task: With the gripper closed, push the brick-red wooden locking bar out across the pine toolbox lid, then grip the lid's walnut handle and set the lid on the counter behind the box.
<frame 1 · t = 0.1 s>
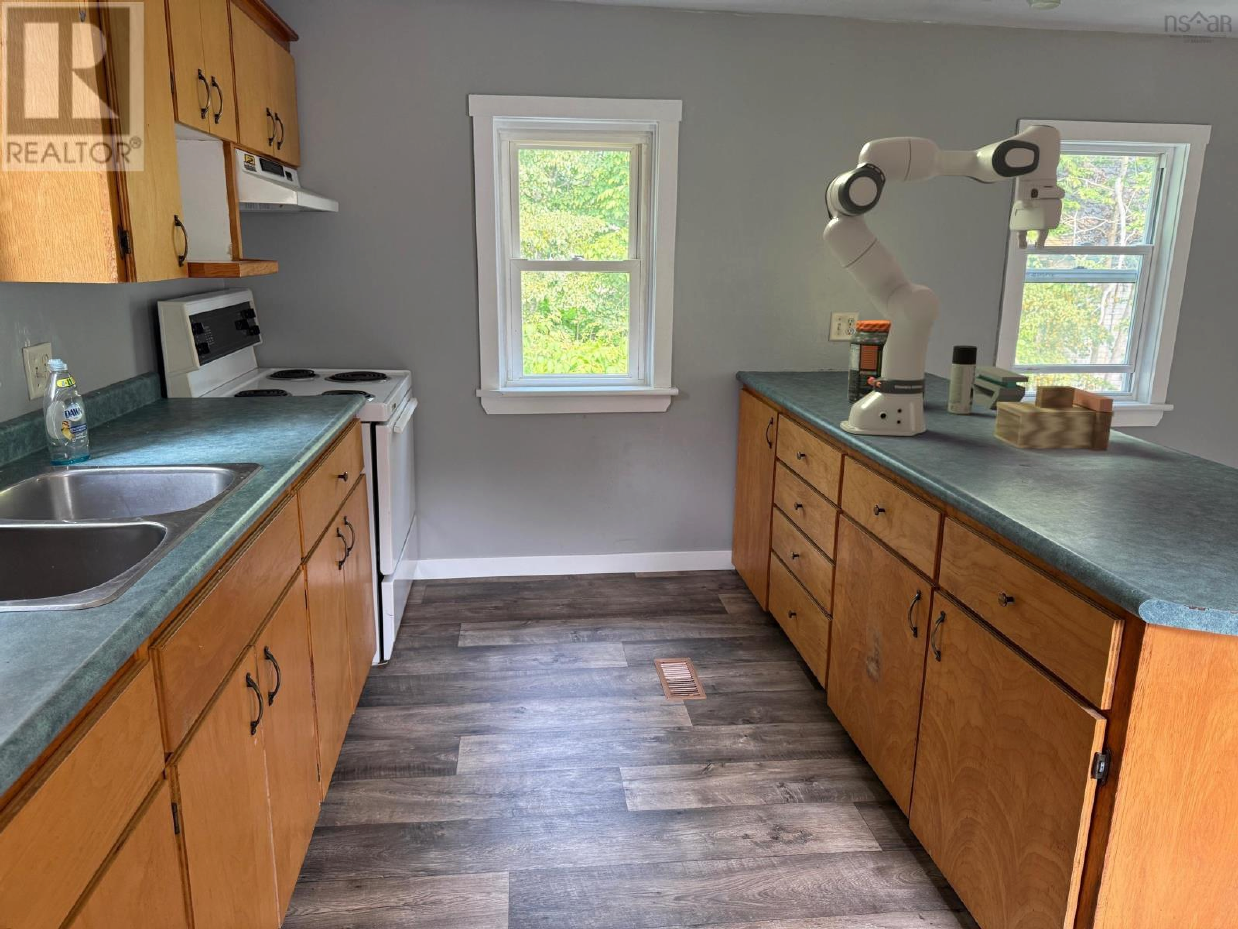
hand: (1030, 248, 220), 48 cm above the worktop, fingers open, 8 cm apart
supplement tub: (871, 402, 274), on the worktop
spray can: (959, 413, 255), on the worktop
toolbox lid: (1052, 411, 214), point 8 cm above the worktop, touching toolbox
toolbox: (1049, 442, 216), on the worktop
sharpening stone: (994, 406, 267), on the worktop
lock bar: (1086, 399, 213), point 11 cm above the worktop, slide at 0.0 cm
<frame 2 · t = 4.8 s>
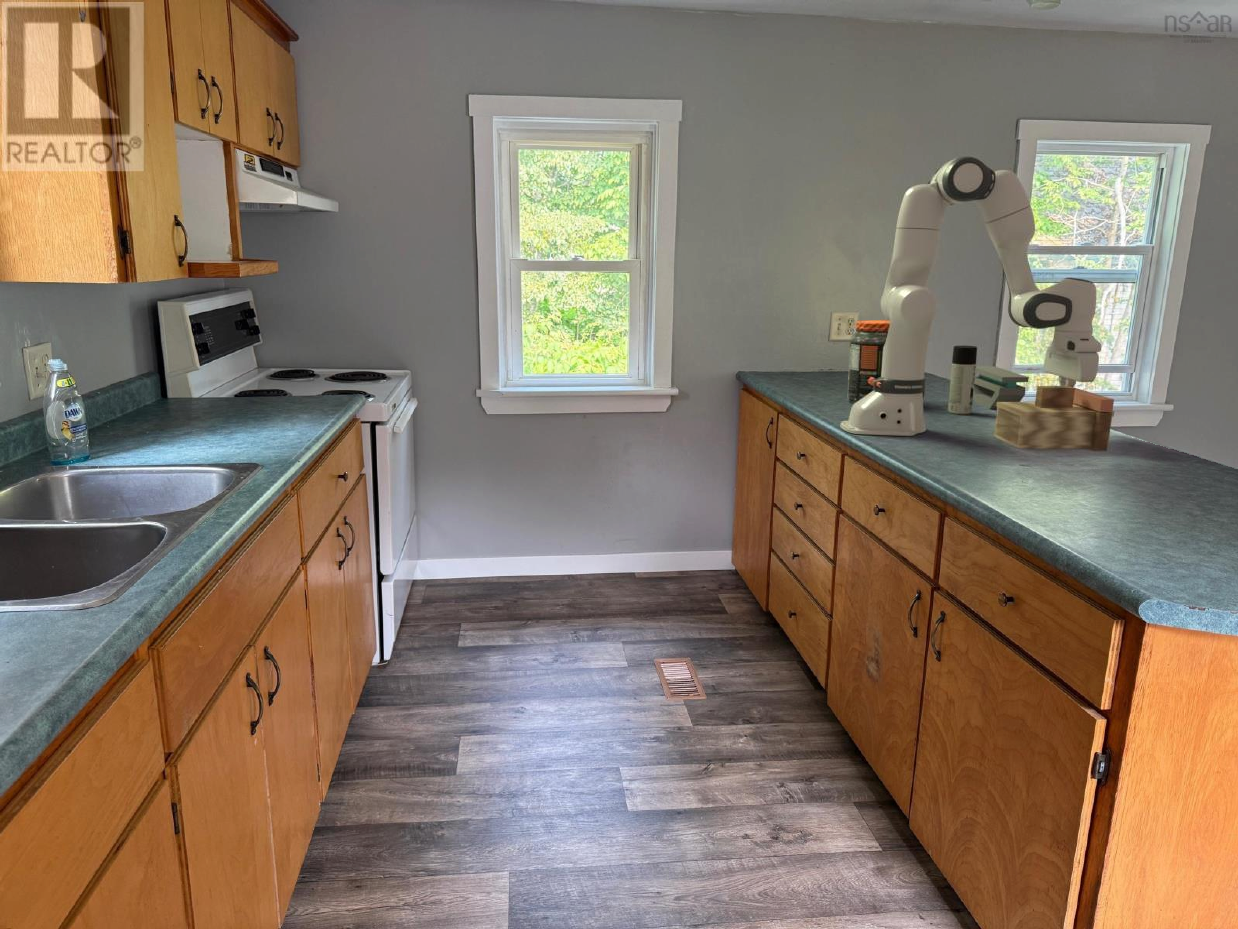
hand: (1065, 394, 223), 11 cm above the worktop, fingers closed
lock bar: (1087, 399, 213), point 11 cm above the worktop, slide at 0.4 cm, touching gripper
everything else where it was.
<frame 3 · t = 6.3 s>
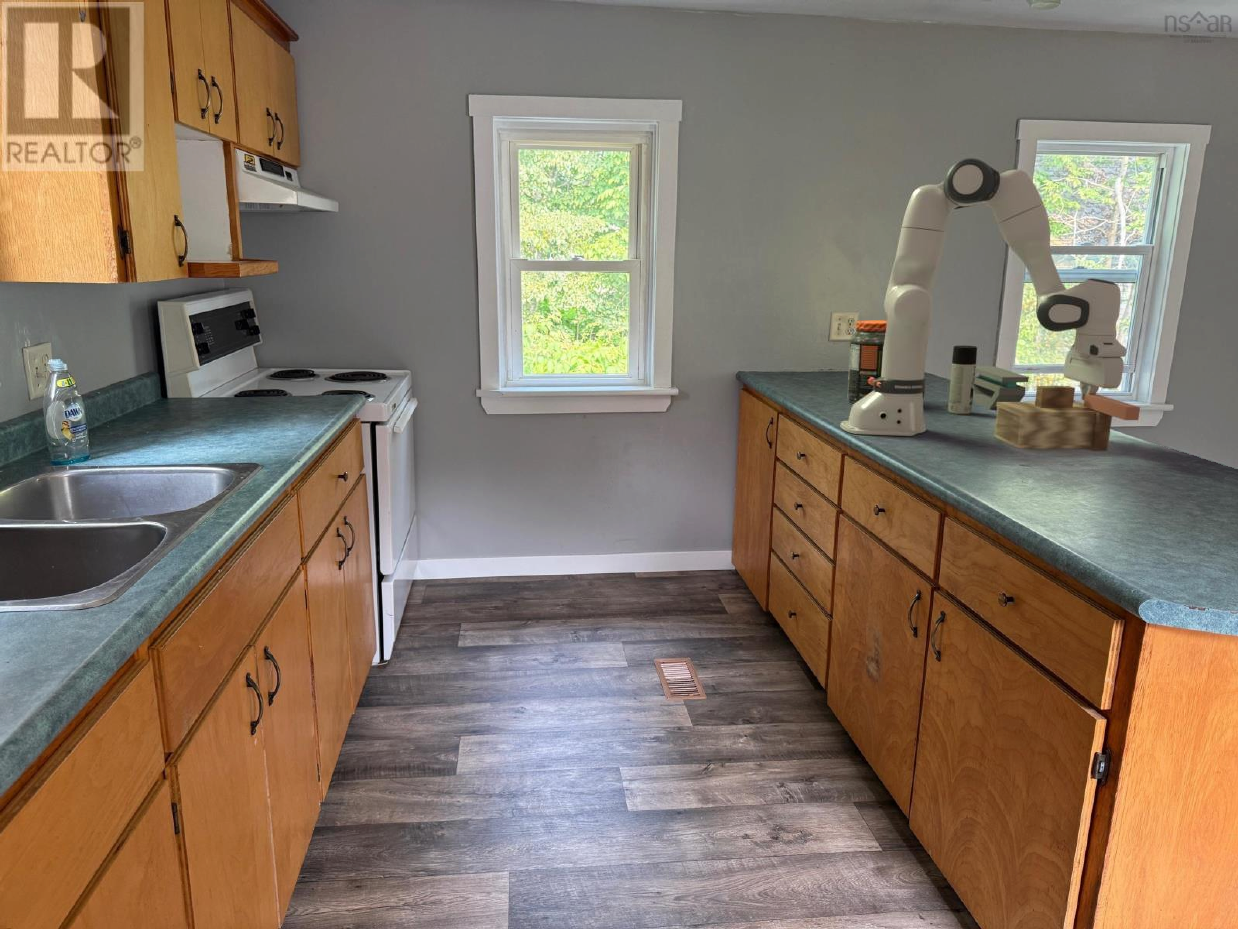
hand: (1087, 401, 213), 11 cm above the worktop, fingers closed
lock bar: (1110, 406, 202), point 11 cm above the worktop, slide at 10.9 cm, touching gripper
everything else where it was.
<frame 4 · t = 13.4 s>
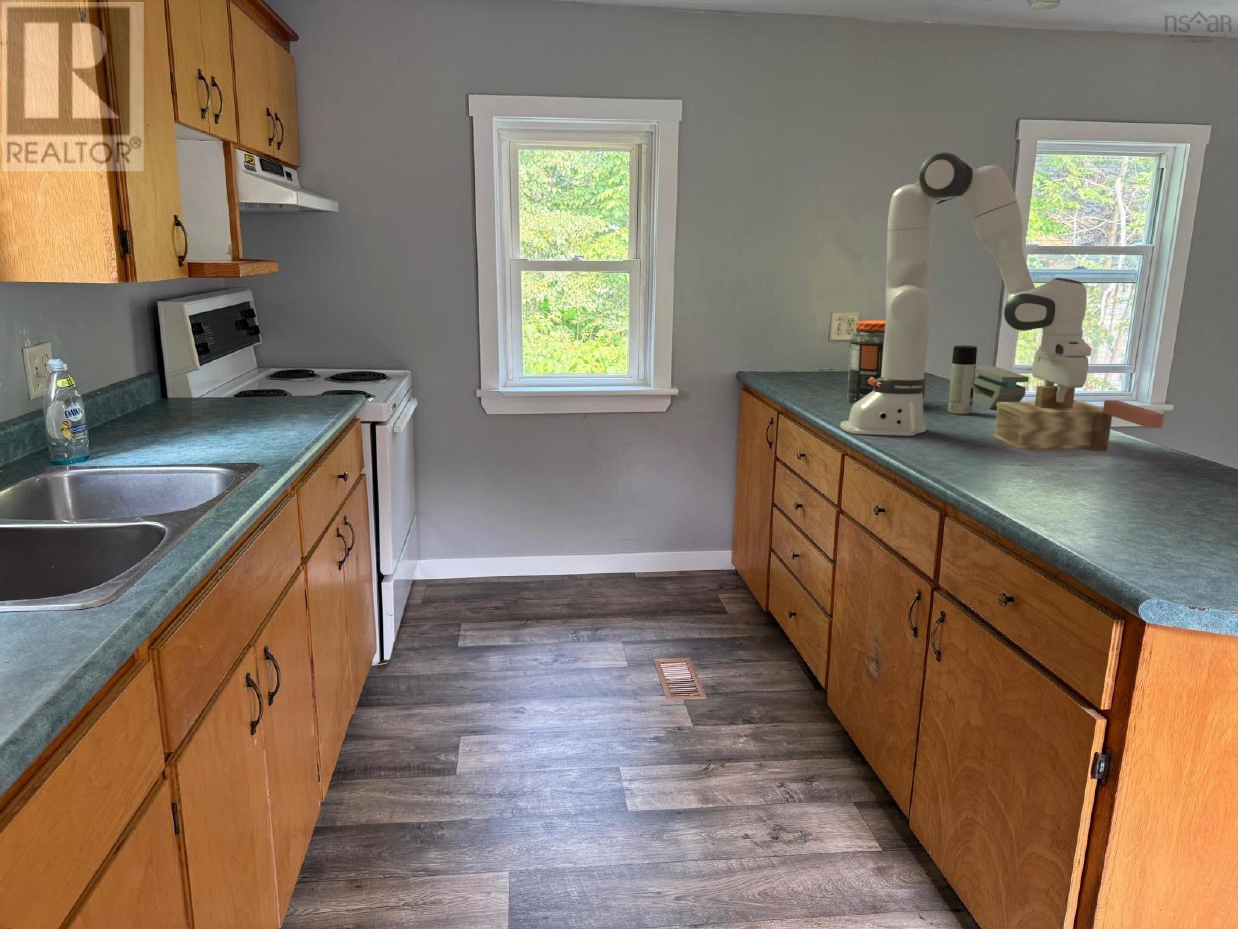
hand: (1054, 400, 213), 11 cm above the worktop, fingers closed on toolbox lid, 3 cm apart
toolbox lid: (1052, 411, 214), point 8 cm above the worktop, touching gripper, toolbox
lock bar: (1131, 413, 194), point 11 cm above the worktop, slide at 19.6 cm
everything else where it was.
when the fingers open (6 cm above the worktop, at t = 24.4 s): toolbox lid drops 2 cm, point 1 cm above the worktop.
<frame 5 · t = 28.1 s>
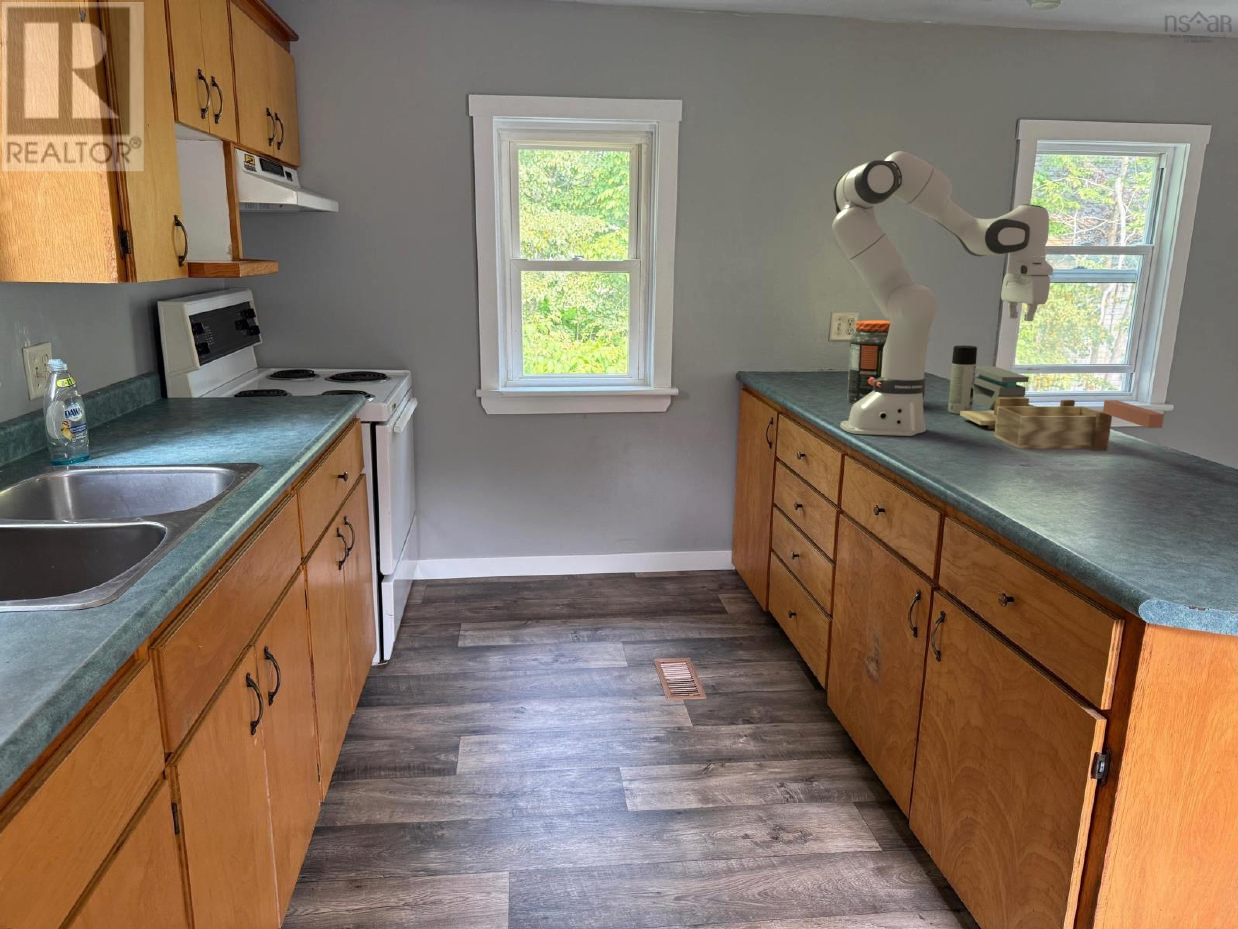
hand: (1020, 319, 231), 29 cm above the worktop, fingers open, 8 cm apart
toolbox lid: (1009, 419, 238), point 1 cm above the worktop
everything else where it was.
at the end: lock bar slide at 19.6 cm; toolbox lid inside the target area (0.1 cm from its centre), point 1.3 cm above the worktop; toolbox lid tilted 0° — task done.
